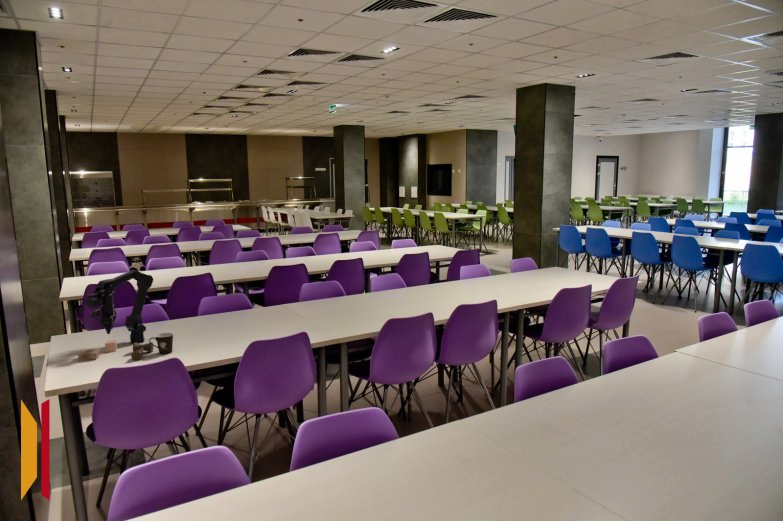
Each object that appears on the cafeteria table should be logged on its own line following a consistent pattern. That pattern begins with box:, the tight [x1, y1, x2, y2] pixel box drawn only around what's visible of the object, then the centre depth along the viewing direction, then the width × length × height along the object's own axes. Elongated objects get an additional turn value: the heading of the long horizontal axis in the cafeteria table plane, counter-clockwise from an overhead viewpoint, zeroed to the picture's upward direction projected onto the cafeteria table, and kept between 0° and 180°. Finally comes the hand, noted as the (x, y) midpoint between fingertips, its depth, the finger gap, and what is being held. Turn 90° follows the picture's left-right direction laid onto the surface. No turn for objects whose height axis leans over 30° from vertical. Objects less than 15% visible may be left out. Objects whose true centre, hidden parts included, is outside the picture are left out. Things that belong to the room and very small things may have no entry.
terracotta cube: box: [104, 339, 118, 353], centre depth 287 cm, size 5×5×5 cm
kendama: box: [130, 341, 154, 361], centre depth 280 cm, size 6×10×20 cm
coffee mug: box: [148, 332, 174, 356], centre depth 283 cm, size 12×9×10 cm
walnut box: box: [77, 348, 100, 363], centre depth 275 cm, size 8×8×4 cm
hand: (109, 331), depth 286 cm, fingers open, 9 cm apart
